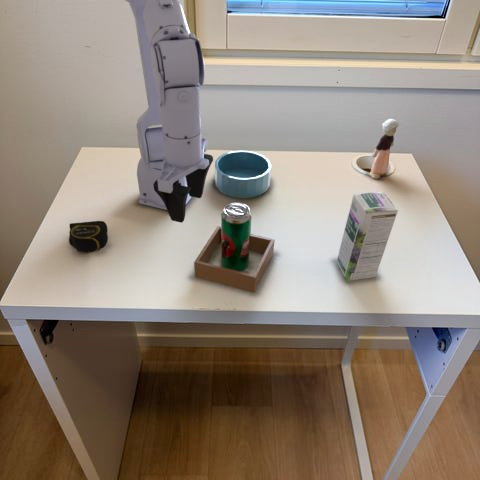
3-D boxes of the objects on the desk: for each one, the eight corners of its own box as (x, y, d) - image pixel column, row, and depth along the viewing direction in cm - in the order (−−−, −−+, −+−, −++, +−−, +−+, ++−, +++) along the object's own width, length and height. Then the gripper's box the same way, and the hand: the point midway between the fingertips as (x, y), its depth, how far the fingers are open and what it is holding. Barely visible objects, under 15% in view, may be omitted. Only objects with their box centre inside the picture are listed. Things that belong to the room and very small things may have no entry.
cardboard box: (194, 277, 83) (193, 262, 80) (217, 240, 90) (217, 225, 87) (254, 293, 80) (255, 278, 78) (273, 254, 88) (274, 239, 85)
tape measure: (109, 232, 91) (105, 216, 88) (109, 255, 86) (105, 238, 83) (72, 235, 90) (68, 219, 87) (70, 258, 85) (65, 242, 82)
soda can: (246, 276, 83) (248, 220, 74) (218, 272, 84) (217, 216, 75) (251, 258, 87) (254, 203, 78) (224, 254, 87) (224, 199, 78)
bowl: (206, 191, 102) (206, 172, 98) (226, 164, 109) (226, 146, 106) (260, 203, 99) (261, 184, 96) (276, 175, 107) (277, 156, 104)
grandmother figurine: (380, 182, 106) (395, 128, 97) (364, 177, 107) (377, 123, 98) (391, 168, 110) (407, 115, 101) (376, 163, 112) (390, 110, 102)
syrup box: (335, 261, 87) (351, 193, 76) (364, 257, 88) (384, 189, 77) (346, 282, 83) (365, 213, 72) (377, 277, 84) (399, 209, 73)
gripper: (186, 157, 64) (191, 237, 74) (224, 115, 73) (223, 191, 83) (140, 148, 66) (151, 227, 76) (183, 107, 75) (187, 183, 85)
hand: (186, 208), depth 80 cm, fingers open, 7 cm apart
